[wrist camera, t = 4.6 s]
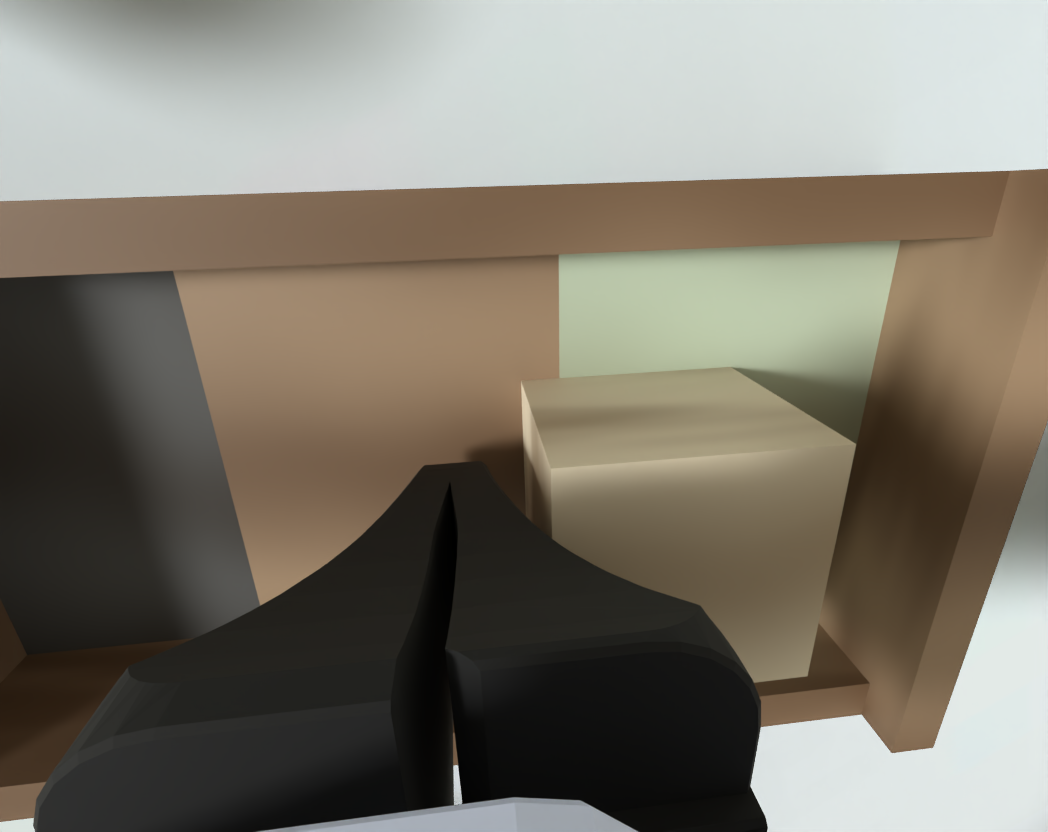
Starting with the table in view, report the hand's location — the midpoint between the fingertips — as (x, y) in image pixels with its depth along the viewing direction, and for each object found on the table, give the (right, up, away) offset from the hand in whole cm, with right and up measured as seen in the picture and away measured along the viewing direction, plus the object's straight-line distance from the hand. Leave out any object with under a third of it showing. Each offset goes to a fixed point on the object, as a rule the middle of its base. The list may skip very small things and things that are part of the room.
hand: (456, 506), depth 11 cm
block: (+4, +1, +1) cm, 4 cm away
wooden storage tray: (-2, +1, +3) cm, 3 cm away
